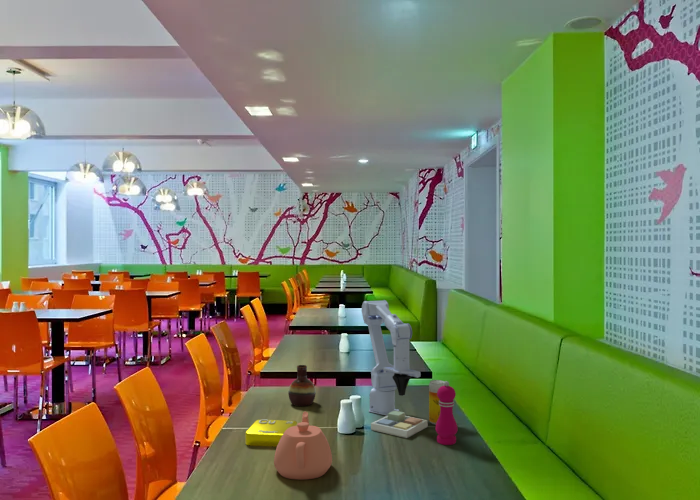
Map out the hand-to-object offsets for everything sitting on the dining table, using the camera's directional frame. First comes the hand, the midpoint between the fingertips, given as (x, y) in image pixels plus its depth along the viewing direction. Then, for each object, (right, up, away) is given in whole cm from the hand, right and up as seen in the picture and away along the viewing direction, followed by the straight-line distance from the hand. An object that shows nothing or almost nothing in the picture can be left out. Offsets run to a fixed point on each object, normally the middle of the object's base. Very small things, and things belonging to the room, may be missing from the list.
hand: (401, 394), depth 205 cm
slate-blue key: (-6, -10, -6) cm, 13 cm away
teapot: (-32, -11, -40) cm, 53 cm away
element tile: (-45, -11, -15) cm, 49 cm away
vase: (-38, -11, +26) cm, 48 cm away
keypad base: (-1, -11, -5) cm, 12 cm away
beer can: (+13, -11, +1) cm, 17 cm away
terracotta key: (+4, -10, -5) cm, 11 cm away
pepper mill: (+13, -11, -19) cm, 25 cm away
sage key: (-2, -9, -1) cm, 9 cm away
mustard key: (-1, -10, -10) cm, 14 cm away
